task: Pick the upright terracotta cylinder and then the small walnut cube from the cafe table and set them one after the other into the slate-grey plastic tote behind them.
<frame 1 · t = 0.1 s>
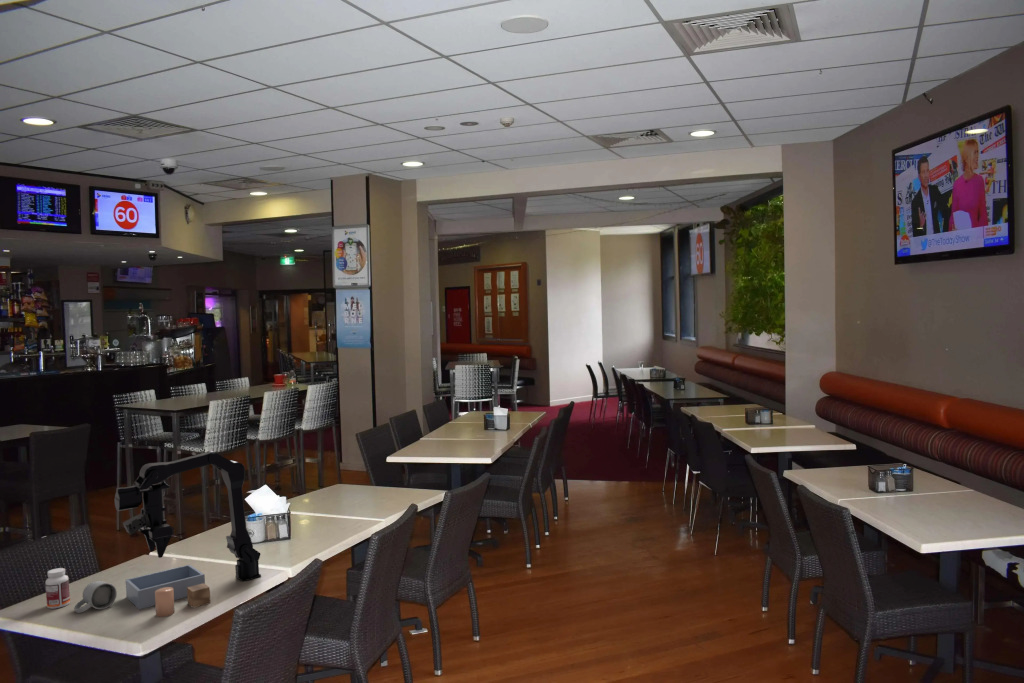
hand: (156, 554, 228), 15 cm above the table, fingers open, 9 cm apart
tote: (166, 594, 234), on the table
walnut cube: (199, 603, 225), on the table
pill bottle: (58, 606, 228), on the table
terracotta cylinder: (165, 613, 218), on the table
ceramic mug: (95, 608, 225), on the table
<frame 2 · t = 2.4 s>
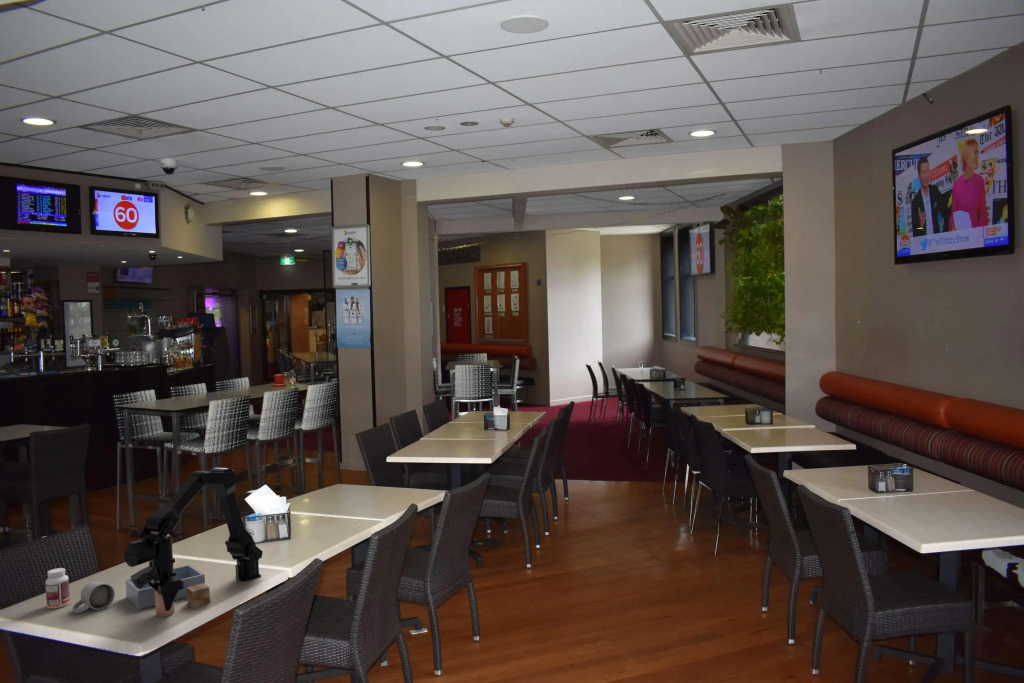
hand: (165, 608, 218), 2 cm above the table, fingers closed on terracotta cylinder, 5 cm apart
terracotta cylinder: (165, 613, 218), on the table, touching gripper
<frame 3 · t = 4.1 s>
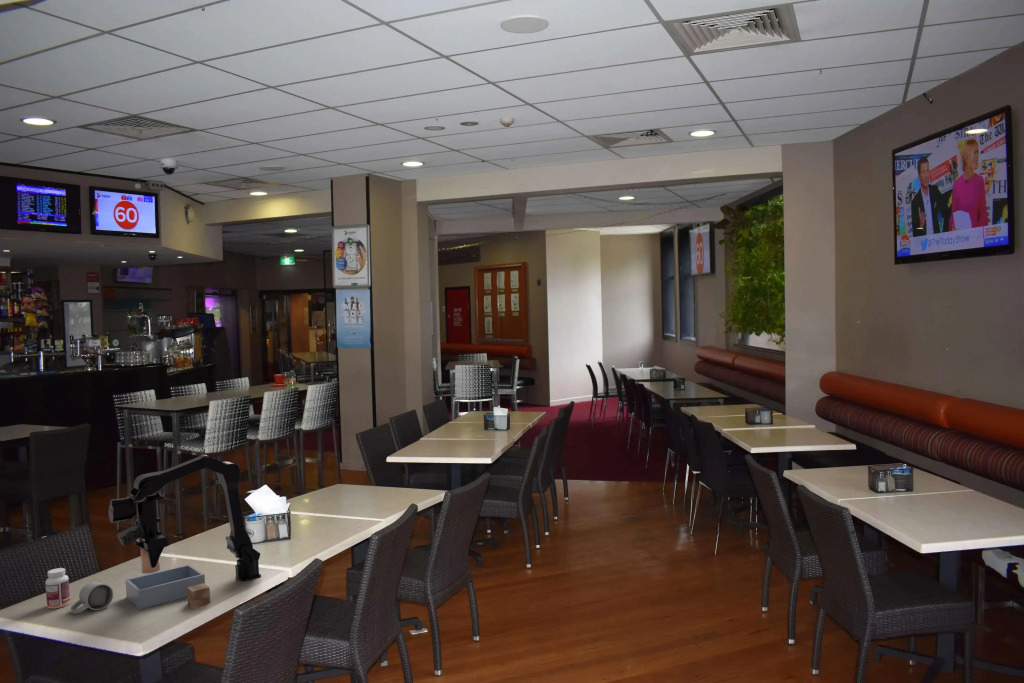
hand: (150, 565, 227), 11 cm above the table, fingers closed on terracotta cylinder, 5 cm apart
terracotta cylinder: (150, 570, 227), point 10 cm above the table, touching gripper
when the fingers open (4 cm above the table, at t = 6.1 s): terracotta cylinder drops 2 cm, resting on tote.
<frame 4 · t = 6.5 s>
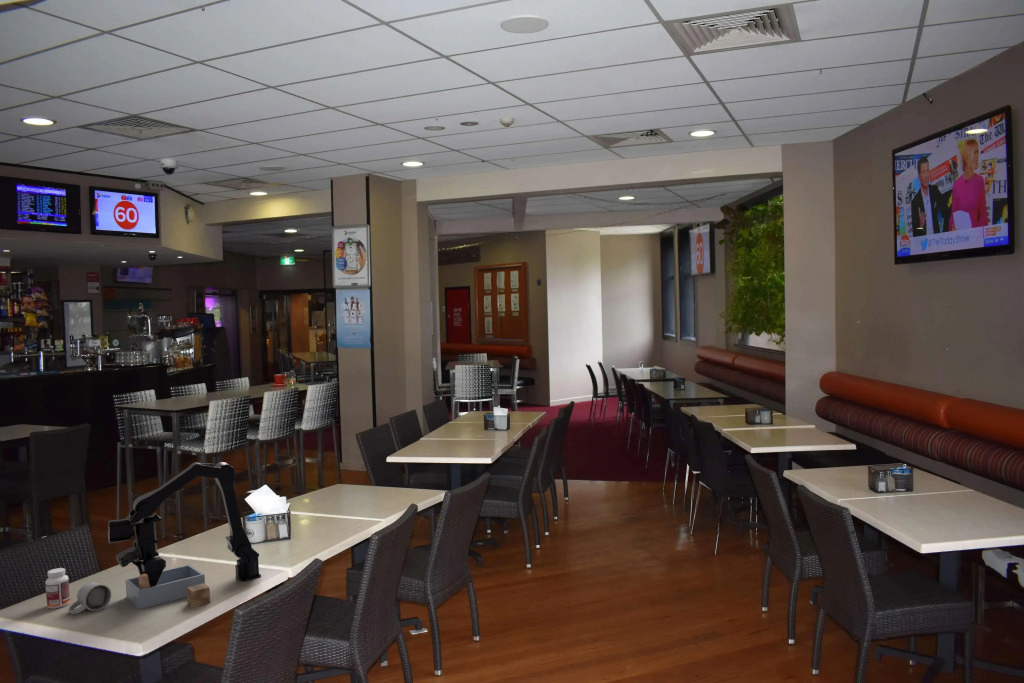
hand: (148, 586, 230), 4 cm above the table, fingers open, 9 cm apart
terracotta cylinder: (148, 596, 230), point 1 cm above the table, touching tote
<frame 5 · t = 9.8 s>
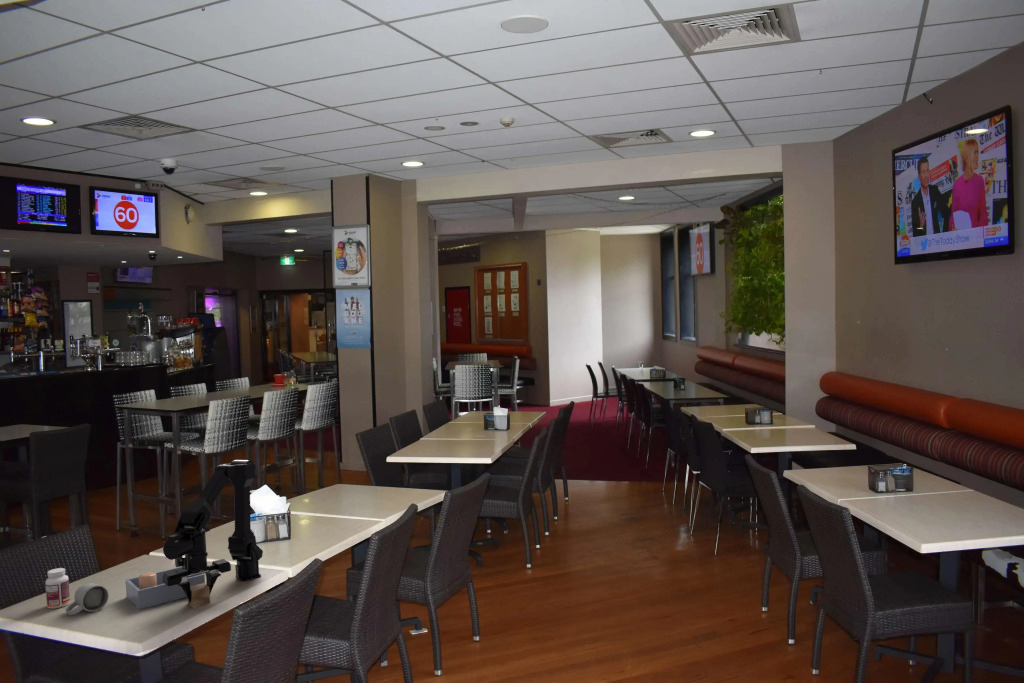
hand: (198, 599, 225), 1 cm above the table, fingers closed on walnut cube, 5 cm apart
walnut cube: (199, 603, 225), on the table, touching gripper
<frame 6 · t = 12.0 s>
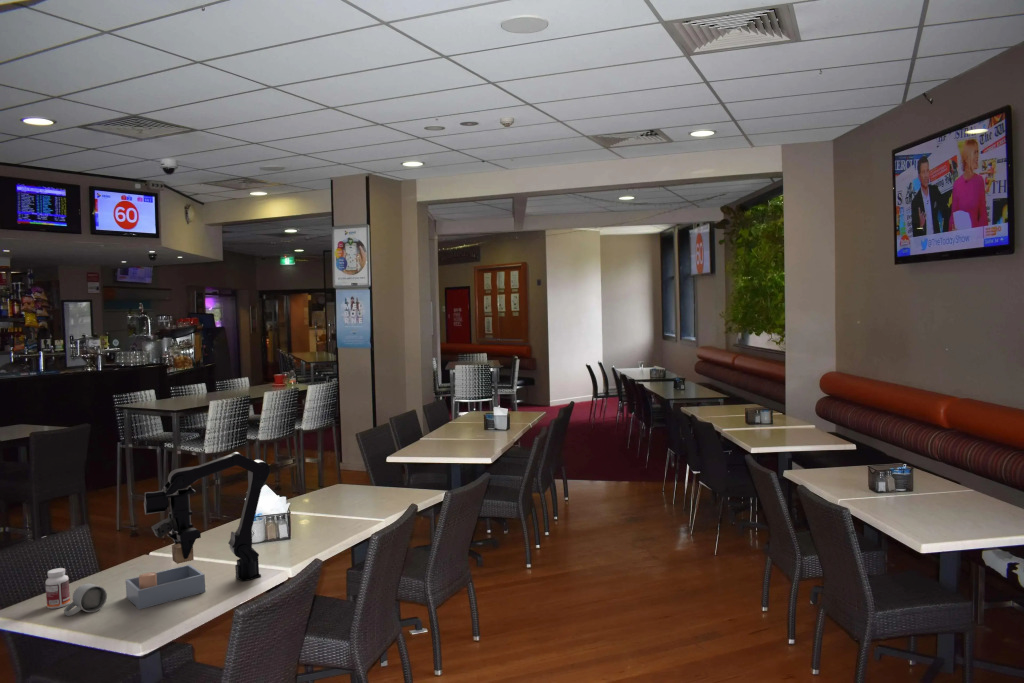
hand: (183, 556, 236), 11 cm above the table, fingers closed on walnut cube, 5 cm apart
walnut cube: (183, 560, 236), point 10 cm above the table, touching gripper
when the fingers open (4 cm above the table, at t = 13.8 s): walnut cube drops 2 cm, resting on tote.
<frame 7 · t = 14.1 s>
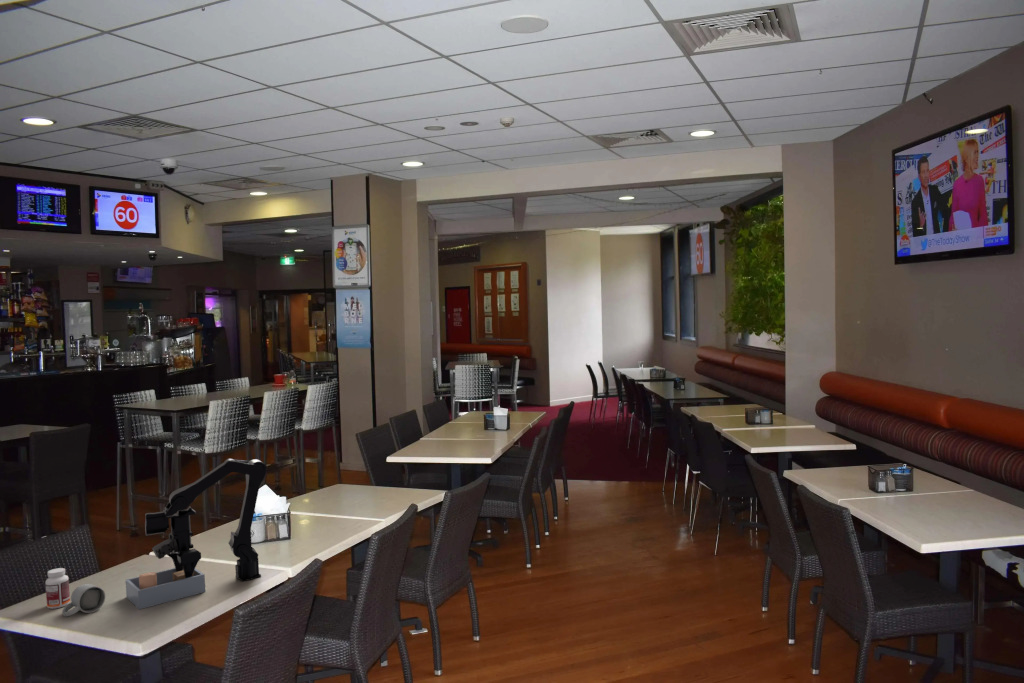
hand: (183, 577, 237), 4 cm above the table, fingers open, 9 cm apart
walnut cube: (184, 587, 237), point 1 cm above the table, touching tote
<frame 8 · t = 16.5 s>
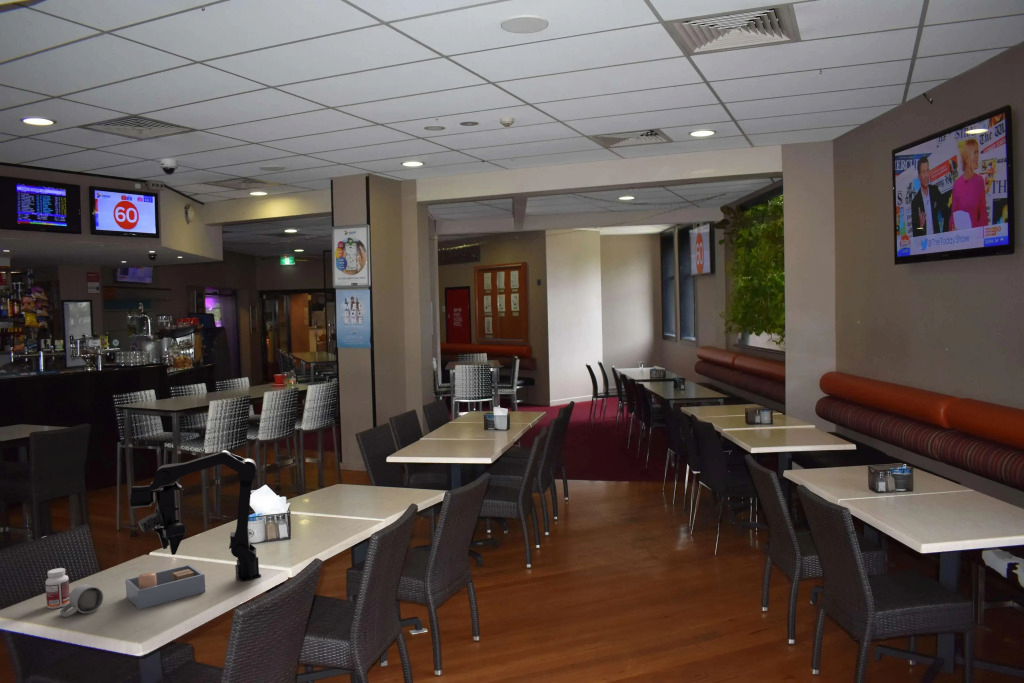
hand: (169, 551, 239), 12 cm above the table, fingers open, 9 cm apart
at the end: terracotta cylinder inside the target area on the tote (5.1 cm from its centre), point 0.6 cm above the tote's base; walnut cube inside the target area on the tote (5.5 cm from its centre), point 0.6 cm above the tote's base; the gripper is holding nothing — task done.
